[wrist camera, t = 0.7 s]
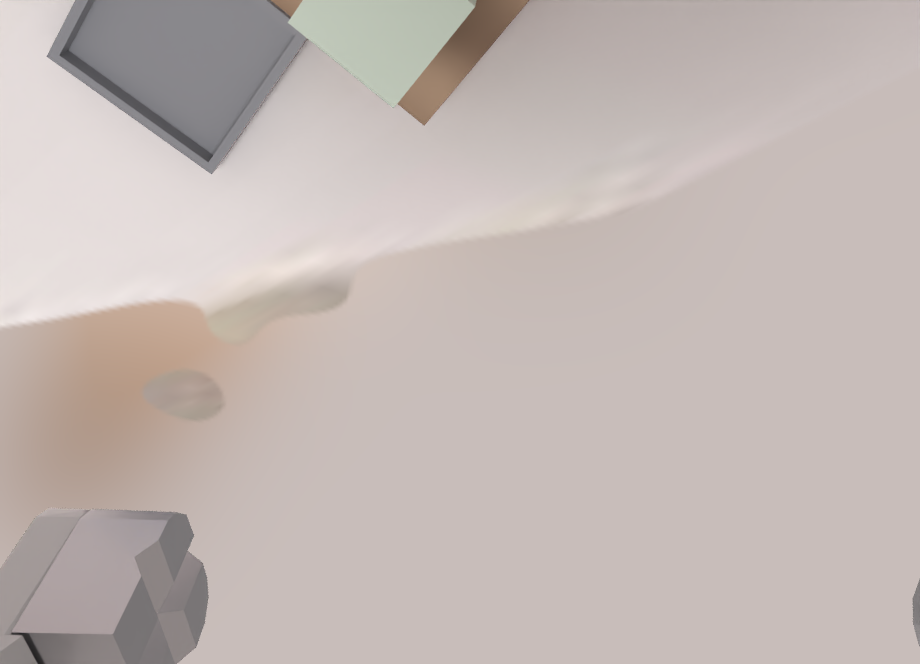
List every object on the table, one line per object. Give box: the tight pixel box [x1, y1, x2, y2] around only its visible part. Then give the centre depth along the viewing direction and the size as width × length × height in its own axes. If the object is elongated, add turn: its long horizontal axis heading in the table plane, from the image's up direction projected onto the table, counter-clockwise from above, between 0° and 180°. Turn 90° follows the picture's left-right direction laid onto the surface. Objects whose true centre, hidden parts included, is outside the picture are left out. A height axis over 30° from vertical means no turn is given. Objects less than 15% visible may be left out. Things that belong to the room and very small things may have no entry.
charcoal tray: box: [47, 0, 307, 174], centre depth 42 cm, size 10×10×2 cm
